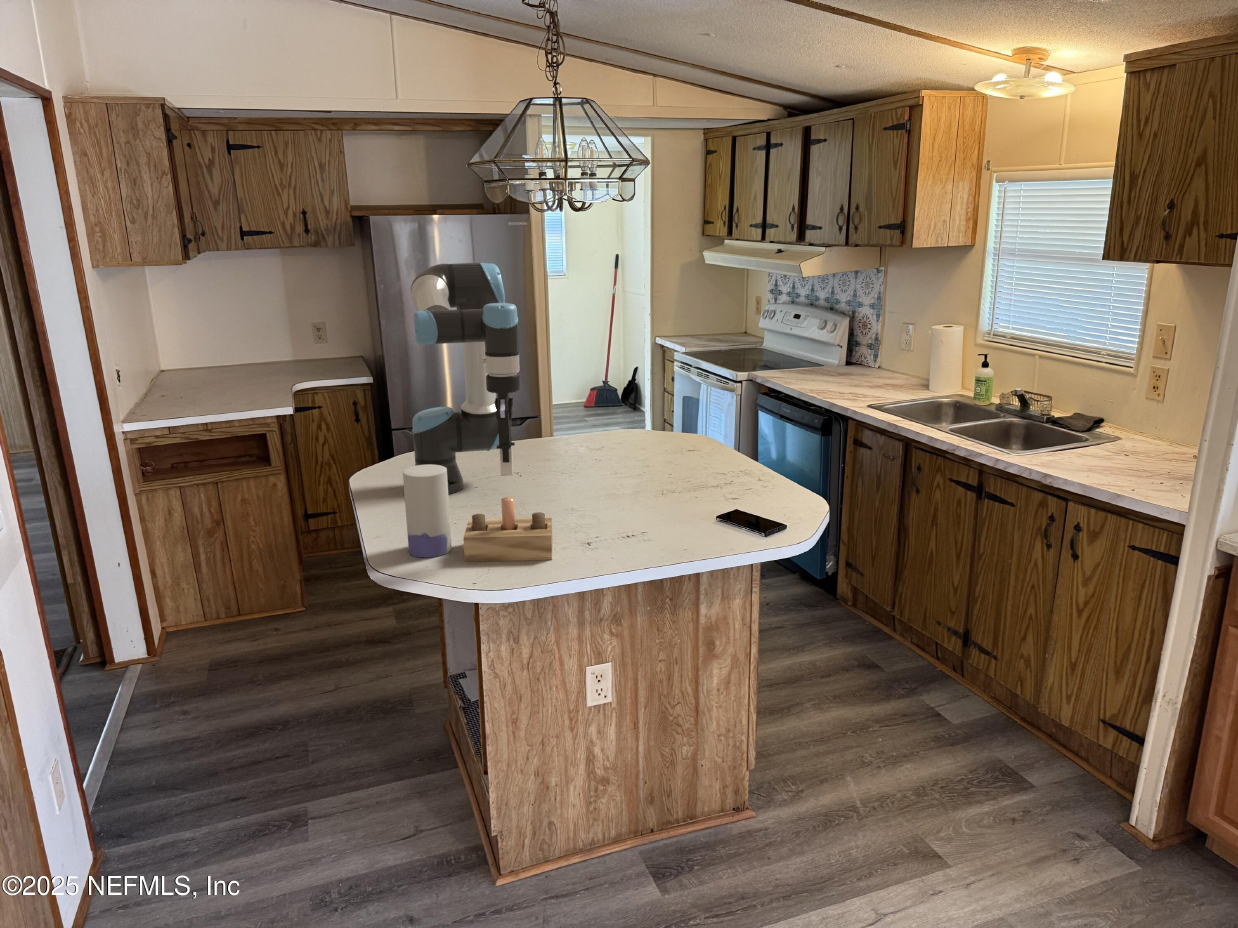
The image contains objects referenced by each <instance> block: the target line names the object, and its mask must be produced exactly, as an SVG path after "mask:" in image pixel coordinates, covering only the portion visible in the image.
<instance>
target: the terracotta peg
mask: <svg viewBox="0 0 1238 928" xmlns="http://www.w3.org/2000/svg"><path fill="white" fill-rule="evenodd" d="M515 506H516V505H515V497H511V496H504V497H501V516H502V517H501V519H502V525H503V530H515V519H516V509H515Z"/></svg>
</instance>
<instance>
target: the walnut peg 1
mask: <svg viewBox="0 0 1238 928" xmlns="http://www.w3.org/2000/svg"><path fill="white" fill-rule="evenodd" d="M485 519H486V514H485V513H474V514H472V516H471V520H472V526H473V531H486V527H485Z"/></svg>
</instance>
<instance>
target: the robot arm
mask: <svg viewBox="0 0 1238 928" xmlns="http://www.w3.org/2000/svg"><path fill="white" fill-rule="evenodd" d="M410 296H411V299H412V302H413V303H414V305H415V306H416V307H417V308H418V310H416V311H414V313H413V314H412V316H413V317H412V318H413V320H412V321H413V335H414V340H415V343H417V344H420V345H430V346H431V345H436V344H437V345H441V344H442V345H443V344H445V345H446V344H460V343H461V344H463V355H464V356H463V359H464V360H463V361H464V381H465V382H464V383H465V385H464V386H465V388H464V389H465V401H464V402H463V403H462V404H460V411H456V412H454V409H453V408H452V407H451V406H438V407H431V408H428V409H424V410H421V411H419V412H417V413H416V414H414V416H413V417H412V430H411V431H412V434H413V448H414V466H417V465H440V466H444V467H445V468H447V481H448V495H450V494H454V493H457V492H460V491H461V490H462V489H463V488H464V479H463V478H464V477H463V475H462V473H461V470H460V468H459V466H458V463H457V456H456V455H457V454H456V453H468V452H481V451H487V452H490V451H493V450H499V462H500V464H499V466H500V467H499V468H500V476H504V477H505V476H514V469H513V468H514V465H513V464H514V463H513V446H516V444H515V442H514V441H513V437H512V434H513V432H512V418H513V405H514V397H511V396H510V393H511V394H512V393H517V392H519V391H520V390H521V378H520V375H519V372H520V369H521V367H520V352H519V351H520V350H519V324H518V323H519V317H518V309H517V306H516V305H515V304H513V303H509V302H506V297H505V296H506V295H505V288H504V283H503V278H502V275H501V271H500V268H499V267H498V266H497V265H496V264H495V263H491V262H489V263H487V262H468V263H467V262H464V263H462V262H460V263H439V264H435V265H431V266H429V267H427V268H425V269H423V270H422V271H420V272H419V273H418V274H417V275H416V276H415V277H414V279H413V281H412V283H411V285H410ZM451 308H455V309H451ZM512 441H513V442H512Z"/></svg>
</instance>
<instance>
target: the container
mask: <svg viewBox="0 0 1238 928" xmlns="http://www.w3.org/2000/svg"><path fill="white" fill-rule="evenodd" d="M402 479H403V480H402V481H403V491H404V492H403V493H404V505H405V506H404V507H405V518H406V519H405V520H406V533H407V545H408V553H409V554H410V555H411V556H414V557H418V558H434V557H440V556H442V555H445V554H448V553H449V552H450V551H452V549H453V548H452V535H451V534H452V533H451V531H452V529H451V518H450V500H449V499H450V497H449V494H448V481H447V468H445V467H444V466H440V465H417V466H415V465H413V466H409V467H407V468H405V469H403V471H402Z"/></svg>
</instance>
